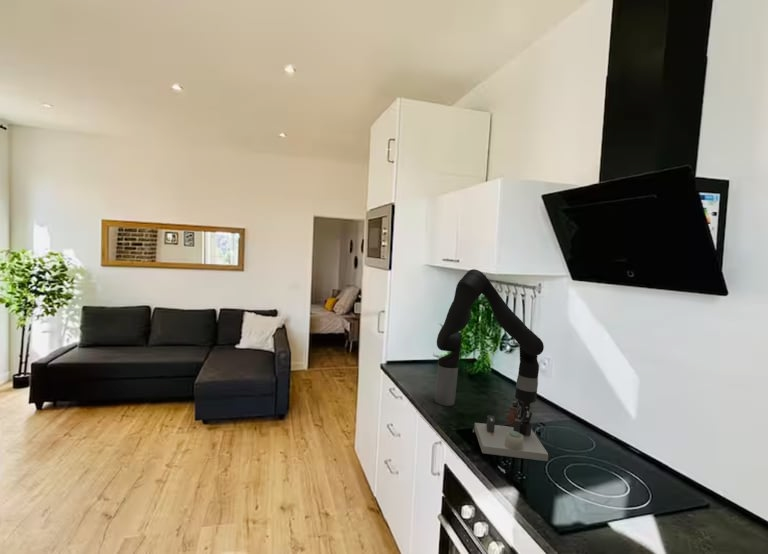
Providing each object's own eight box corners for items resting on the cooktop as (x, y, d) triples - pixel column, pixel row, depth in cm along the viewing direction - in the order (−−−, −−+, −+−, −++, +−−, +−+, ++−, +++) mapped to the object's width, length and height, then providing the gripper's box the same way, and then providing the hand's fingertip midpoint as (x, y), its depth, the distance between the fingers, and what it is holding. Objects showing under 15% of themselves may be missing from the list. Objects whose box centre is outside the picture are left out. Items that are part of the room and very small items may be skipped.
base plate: (474, 428, 158) (476, 411, 158) (531, 435, 156) (533, 417, 156) (482, 453, 138) (484, 433, 138) (547, 461, 136) (549, 441, 136)
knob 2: (529, 436, 149) (531, 424, 149) (513, 431, 152) (514, 420, 152) (530, 433, 151) (532, 422, 151) (514, 429, 154) (515, 418, 154)
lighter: (510, 426, 164) (513, 402, 163) (506, 422, 167) (508, 399, 167) (527, 425, 166) (530, 402, 165) (522, 422, 169) (525, 399, 169)
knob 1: (492, 426, 155) (493, 415, 155) (493, 432, 149) (495, 421, 149) (486, 425, 156) (487, 414, 155) (487, 431, 150) (488, 419, 150)
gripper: (541, 395, 143) (536, 441, 144) (532, 383, 157) (527, 425, 158) (520, 392, 144) (514, 438, 145) (513, 380, 158) (508, 422, 159)
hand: (521, 431), depth 152 cm, fingers closed on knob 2, 3 cm apart
